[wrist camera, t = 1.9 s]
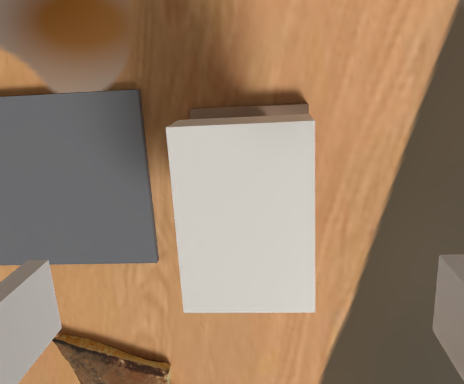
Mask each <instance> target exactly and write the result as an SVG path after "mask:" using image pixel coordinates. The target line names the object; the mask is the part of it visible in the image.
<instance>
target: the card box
mask: <svg viewBox="0 0 464 384" xmlns="http://www.w3.org/2000/svg"><path fill="white" fill-rule="evenodd" d="M166 135H167V146H168V156H169V166H170V176H171V187H172V197H173V207H174V217H175V228H176V238H177V248H178V258H179V269H180V279H181V289H182V299H183V310H184V313H289V312H315V120H314V119H313V118H312V117H311V116H310V114H296V115H274V116H253V117H231V118H210V119H188V120H178V121H176V122H174V123H172V124H171V125H169V126H167V127H166Z"/></svg>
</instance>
